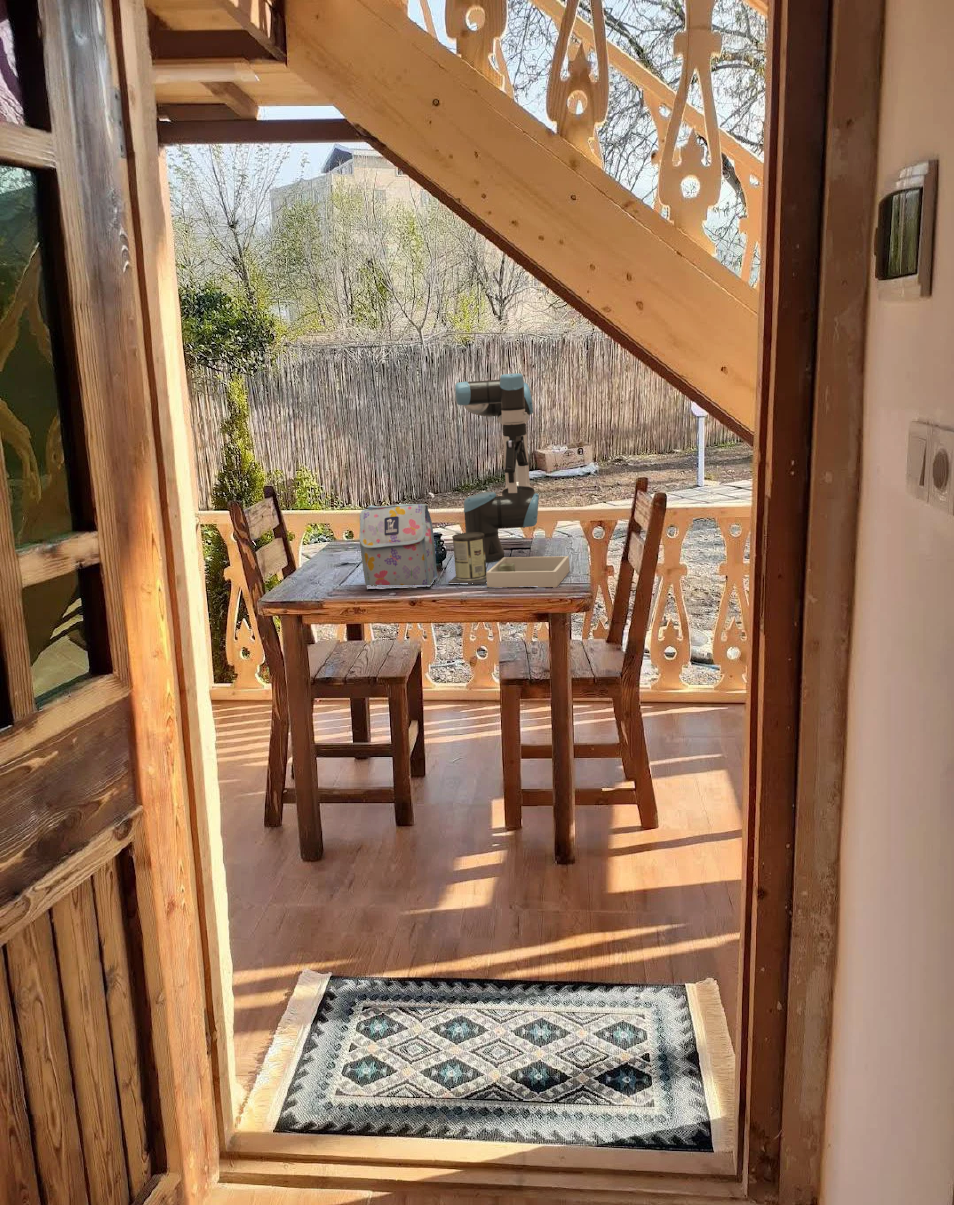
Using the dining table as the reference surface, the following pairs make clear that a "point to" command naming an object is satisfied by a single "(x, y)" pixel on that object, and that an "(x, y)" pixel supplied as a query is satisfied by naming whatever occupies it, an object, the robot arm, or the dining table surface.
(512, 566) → the khaki block
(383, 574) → the lunch bag
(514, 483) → the robot arm
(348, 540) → the dining table surface
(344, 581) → the dining table surface
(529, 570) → the open crate
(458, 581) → the charcoal mat
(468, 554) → the coffee can
